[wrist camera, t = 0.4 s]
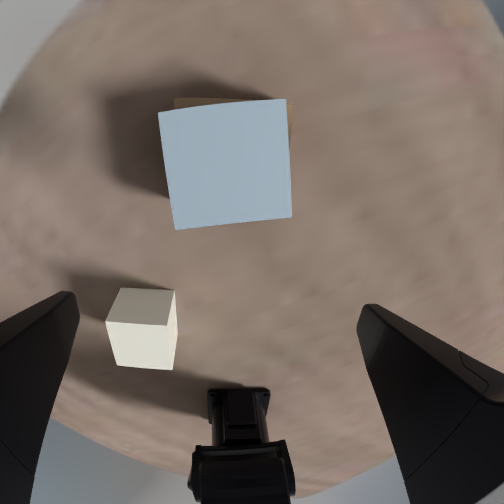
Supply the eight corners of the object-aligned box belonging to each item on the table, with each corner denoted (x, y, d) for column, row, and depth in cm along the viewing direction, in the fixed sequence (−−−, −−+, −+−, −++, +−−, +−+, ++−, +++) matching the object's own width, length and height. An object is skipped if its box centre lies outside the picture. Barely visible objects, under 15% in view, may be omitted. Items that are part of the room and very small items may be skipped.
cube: (177, 332, 26) (172, 370, 22) (128, 329, 25) (116, 365, 21) (174, 289, 24) (166, 325, 20) (121, 286, 23) (105, 321, 19)
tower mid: (283, 204, 19) (292, 217, 17) (181, 215, 19) (175, 229, 17) (277, 100, 16) (285, 99, 14) (166, 112, 16) (158, 112, 14)
